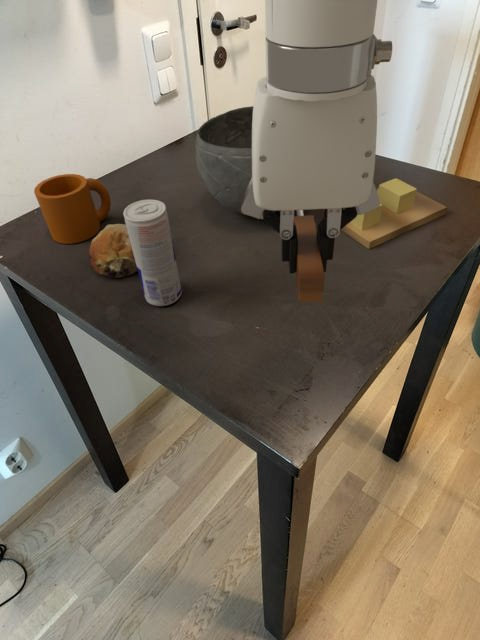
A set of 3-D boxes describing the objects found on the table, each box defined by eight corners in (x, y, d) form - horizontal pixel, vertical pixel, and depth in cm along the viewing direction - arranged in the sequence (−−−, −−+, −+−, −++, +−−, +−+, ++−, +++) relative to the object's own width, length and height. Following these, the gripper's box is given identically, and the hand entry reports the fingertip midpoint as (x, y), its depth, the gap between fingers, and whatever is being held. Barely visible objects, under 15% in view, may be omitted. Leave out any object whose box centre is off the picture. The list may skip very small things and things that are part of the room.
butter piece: (359, 210, 82) (362, 192, 80) (379, 223, 79) (382, 204, 77) (341, 218, 81) (343, 199, 78) (361, 230, 78) (364, 212, 75)
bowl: (278, 169, 98) (278, 94, 88) (334, 215, 84) (342, 132, 74) (185, 195, 92) (174, 118, 82) (229, 248, 78) (222, 164, 68)
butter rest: (392, 195, 85) (395, 177, 83) (413, 206, 82) (417, 188, 80) (376, 202, 84) (379, 184, 81) (396, 214, 81) (400, 195, 78)
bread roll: (162, 273, 80) (165, 227, 77) (125, 286, 71) (127, 234, 69) (115, 261, 84) (117, 216, 81) (74, 271, 75) (75, 222, 72)
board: (395, 188, 90) (396, 181, 89) (445, 214, 82) (447, 207, 81) (322, 217, 84) (322, 210, 83) (368, 249, 76) (370, 241, 75)
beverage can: (189, 291, 71) (174, 203, 61) (166, 313, 68) (146, 224, 57) (161, 280, 73) (142, 194, 63) (137, 300, 70) (113, 213, 60)
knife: (322, 301, 44) (324, 277, 41) (299, 302, 44) (300, 278, 42) (303, 186, 58) (304, 164, 56) (285, 187, 58) (285, 165, 56)
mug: (122, 231, 84) (110, 186, 78) (55, 249, 81) (36, 203, 75) (111, 209, 90) (99, 165, 84) (49, 225, 87) (31, 180, 81)
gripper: (415, 43, 36) (379, 240, 49) (211, 54, 37) (228, 246, 50) (444, 72, 31) (395, 285, 44) (205, 86, 32) (225, 291, 44)
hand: (306, 263), depth 47 cm, fingers closed on knife, 2 cm apart
